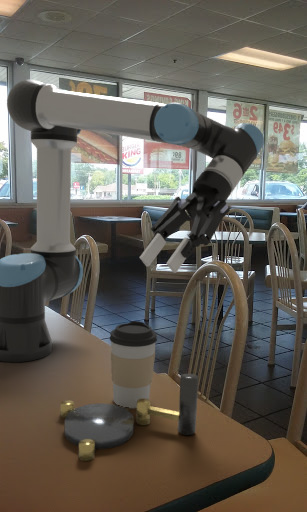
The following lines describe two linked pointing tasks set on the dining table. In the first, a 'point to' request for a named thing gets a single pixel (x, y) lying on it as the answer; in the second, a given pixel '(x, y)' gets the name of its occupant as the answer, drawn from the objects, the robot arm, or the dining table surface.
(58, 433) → the dining table surface
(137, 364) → the coffee cup
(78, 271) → the robot arm
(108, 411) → the plate
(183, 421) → the lever
